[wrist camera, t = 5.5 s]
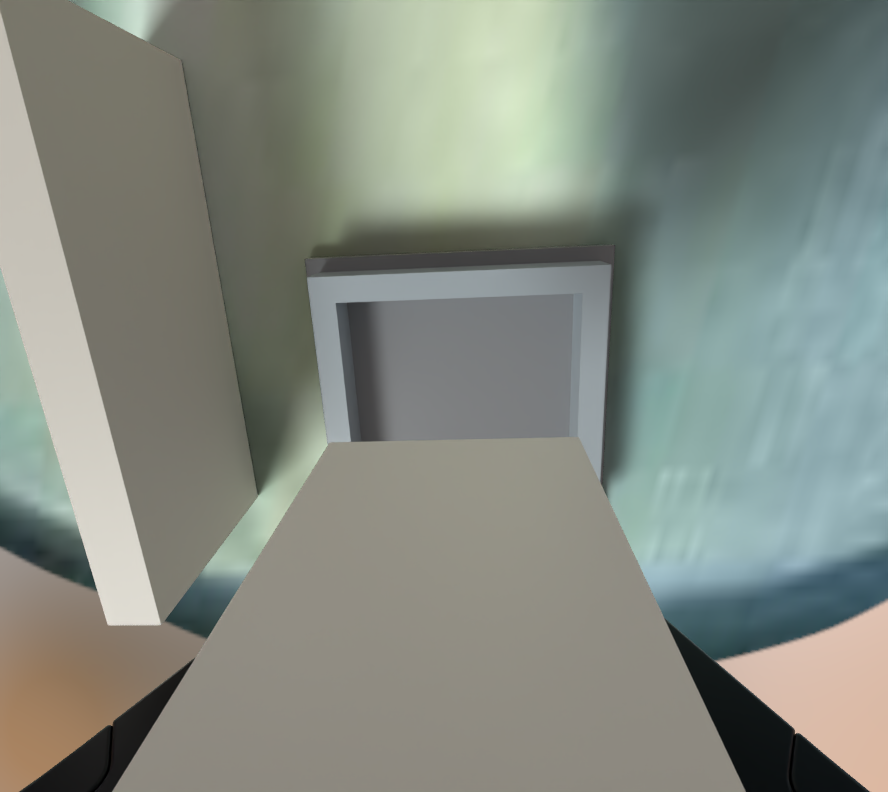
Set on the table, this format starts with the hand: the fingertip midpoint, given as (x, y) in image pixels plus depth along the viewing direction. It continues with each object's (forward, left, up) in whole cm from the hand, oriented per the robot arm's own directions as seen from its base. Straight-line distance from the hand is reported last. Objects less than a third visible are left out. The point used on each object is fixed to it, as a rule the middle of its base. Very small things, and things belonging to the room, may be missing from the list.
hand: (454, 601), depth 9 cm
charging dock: (0, 0, -11) cm, 11 cm away
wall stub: (+9, -3, -11) cm, 15 cm away
